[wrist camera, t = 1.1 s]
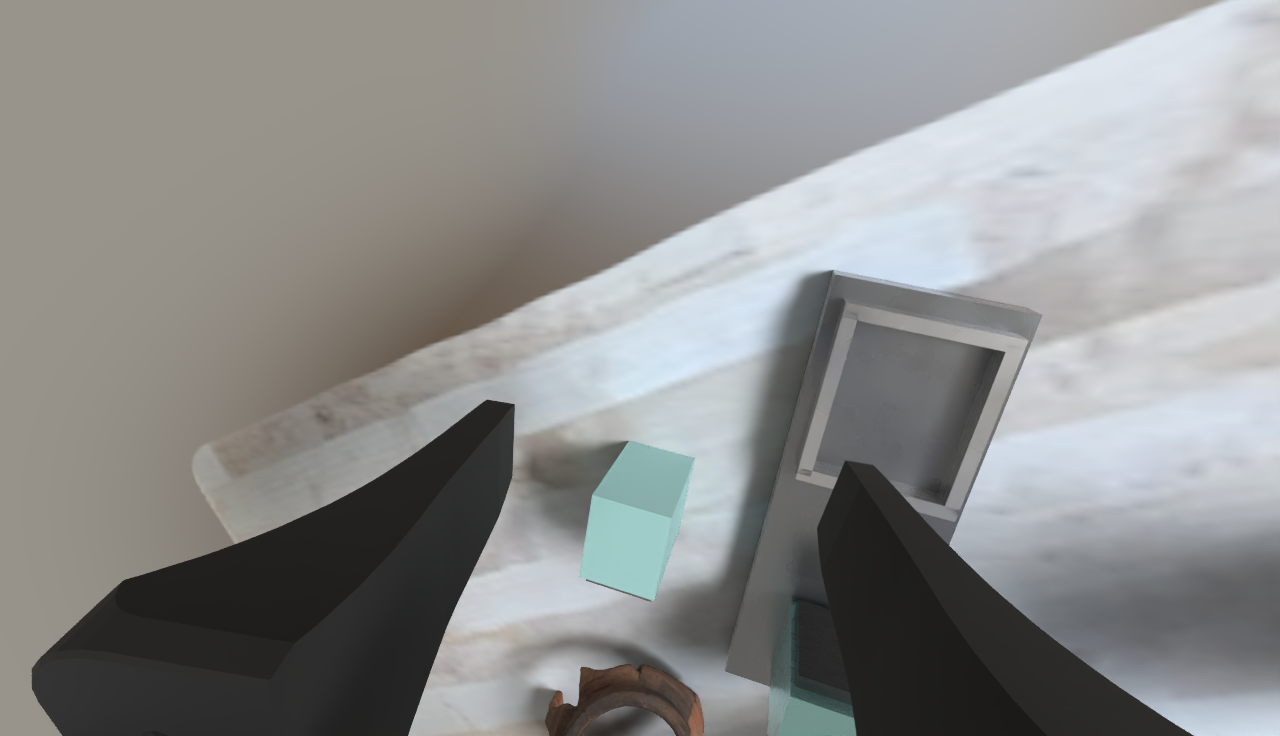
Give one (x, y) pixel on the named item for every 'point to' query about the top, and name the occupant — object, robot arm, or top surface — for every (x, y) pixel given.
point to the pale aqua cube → (636, 520)
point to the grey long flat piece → (877, 435)
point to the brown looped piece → (627, 700)
